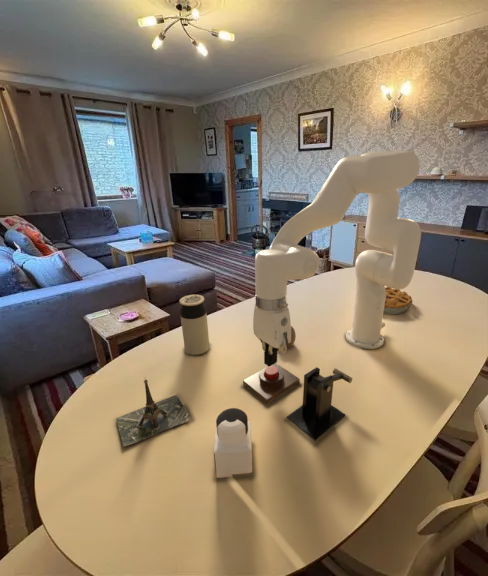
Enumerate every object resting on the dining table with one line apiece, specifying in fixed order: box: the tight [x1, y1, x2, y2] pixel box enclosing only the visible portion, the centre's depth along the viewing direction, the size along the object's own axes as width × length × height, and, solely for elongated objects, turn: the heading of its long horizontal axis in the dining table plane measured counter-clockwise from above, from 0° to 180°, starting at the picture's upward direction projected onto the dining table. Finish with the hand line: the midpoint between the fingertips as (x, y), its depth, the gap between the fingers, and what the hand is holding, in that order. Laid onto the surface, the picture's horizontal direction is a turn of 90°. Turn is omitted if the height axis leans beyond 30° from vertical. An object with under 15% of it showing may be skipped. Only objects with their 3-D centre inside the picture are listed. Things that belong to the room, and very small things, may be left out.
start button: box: [264, 366, 278, 379], centre depth 83 cm, size 4×4×2 cm
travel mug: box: [178, 294, 210, 356], centre depth 98 cm, size 8×8×18 cm
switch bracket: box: [286, 366, 346, 442], centre depth 71 cm, size 11×9×13 cm
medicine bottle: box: [213, 407, 253, 479], centre depth 61 cm, size 7×7×12 cm
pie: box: [383, 286, 413, 315], centre depth 132 cm, size 22×22×5 cm
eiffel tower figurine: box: [116, 378, 191, 447], centre depth 71 cm, size 15×10×13 cm
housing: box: [242, 362, 301, 404], centre depth 84 cm, size 12×10×4 cm
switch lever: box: [310, 368, 353, 390], centre depth 73 cm, size 12×5×2 cm, turn 133°
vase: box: [286, 325, 297, 349], centre depth 102 cm, size 7×7×9 cm
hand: (270, 363), depth 82 cm, fingers closed
